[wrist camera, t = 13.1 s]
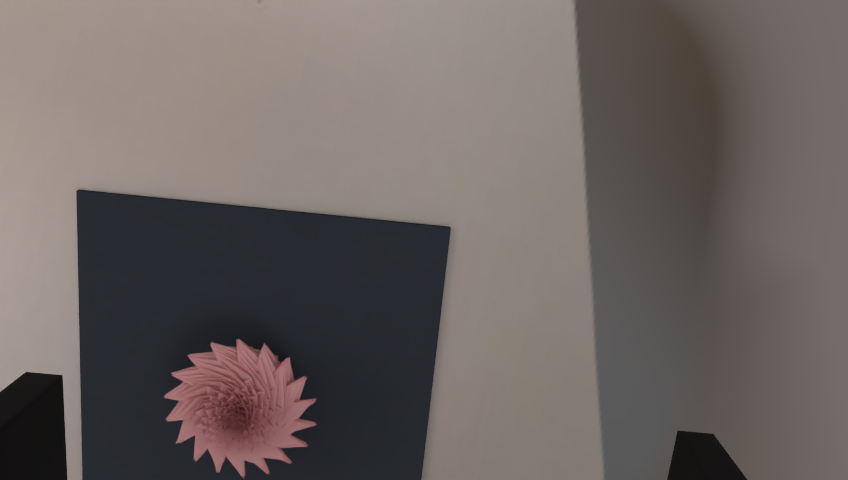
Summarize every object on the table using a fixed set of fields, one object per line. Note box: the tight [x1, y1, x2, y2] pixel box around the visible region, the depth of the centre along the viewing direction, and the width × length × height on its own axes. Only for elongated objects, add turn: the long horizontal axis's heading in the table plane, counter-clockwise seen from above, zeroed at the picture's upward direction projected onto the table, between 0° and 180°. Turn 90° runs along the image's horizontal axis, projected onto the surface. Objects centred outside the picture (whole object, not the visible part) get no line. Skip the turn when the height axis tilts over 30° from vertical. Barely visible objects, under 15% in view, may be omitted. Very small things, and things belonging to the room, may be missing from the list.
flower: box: [164, 338, 317, 478], centre depth 37 cm, size 8×8×6 cm
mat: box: [77, 190, 451, 480], centre depth 40 cm, size 20×20×1 cm
